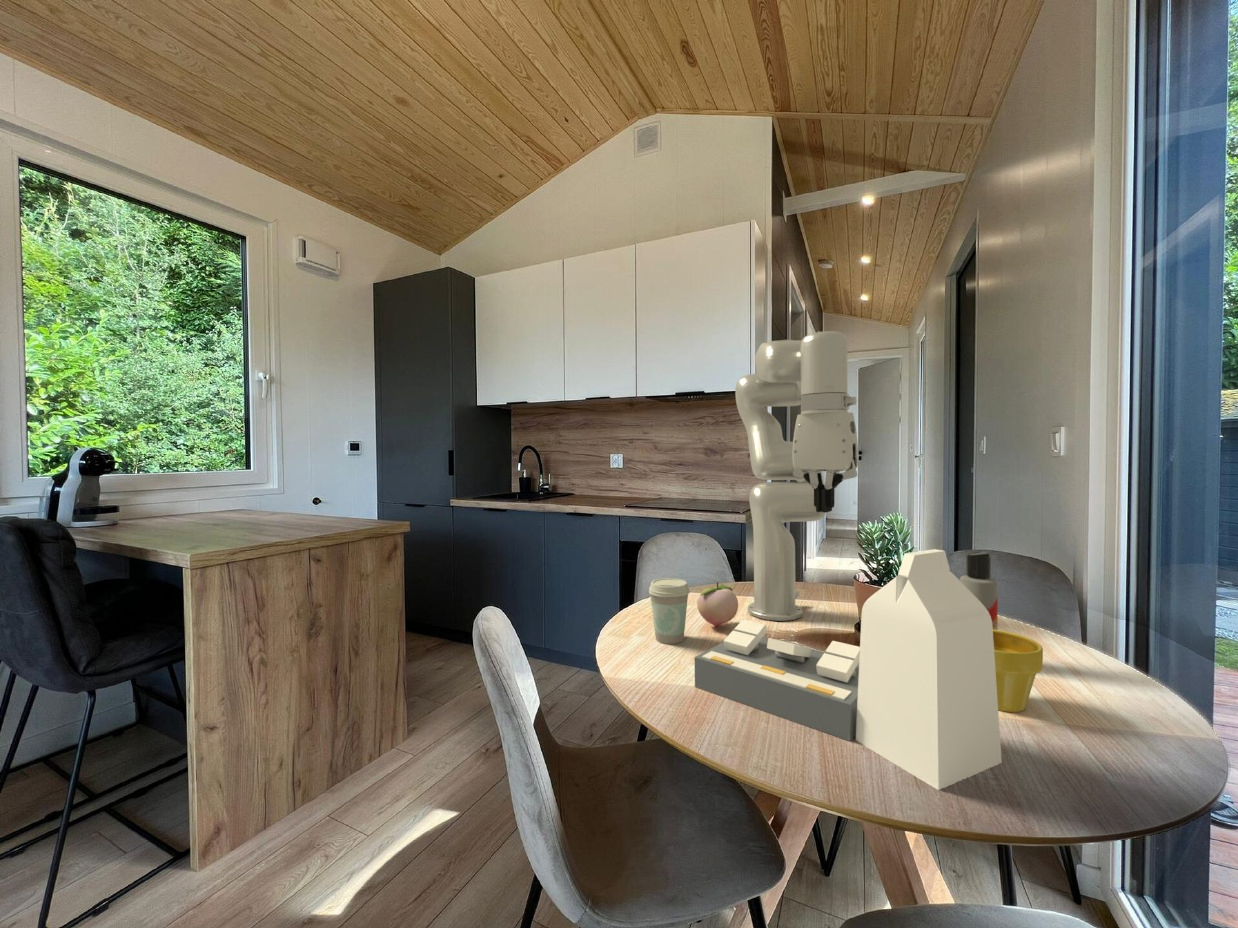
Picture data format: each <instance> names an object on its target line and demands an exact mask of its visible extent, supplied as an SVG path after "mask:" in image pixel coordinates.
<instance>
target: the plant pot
mask: <svg viewBox="0 0 1238 928" xmlns="http://www.w3.org/2000/svg"><path fill="white" fill-rule="evenodd" d="M993 641H994V656H995V671H996V685H997V700H998V712H999V711H1000V712H1006V713H1019V712H1020V713H1021V712H1023V711H1025V709H1026V708H1027V705H1028V703H1029V698H1030V694H1031V692H1032V688H1033V686H1034V680H1035V678H1036V675H1037V674H1038V673H1040V672H1042V670H1043V663H1044V662H1043V660H1044V659H1043V657H1044V649H1043V646H1042V645H1041V644H1040V643H1039V642H1037V641H1036V640H1034V639H1032V638H1030V637H1028V636H1024V635H1022V634H1017V633H1014V632H1010V631H1005V630H999V629H998V630H993Z"/></svg>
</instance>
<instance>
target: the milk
mask: <svg viewBox="0 0 1238 928" xmlns="http://www.w3.org/2000/svg"><path fill="white" fill-rule="evenodd" d="M950 570H951V569H950V566H949V562H948V558H947V554H946V551H945V550H941V549H938V548H937V549H936V548H934V549H926V550H920V551H913V552H912V551H911V552H906V553H904V555H903V558H902V562H901V564H900V567H899V571H898V574H897V576H894V578H893V579H891V580H890V581H889V582H887V583H886V584H885V585H884V586H882V587H881V588H880V589H879V590H877V591H876V592H875V593H873V594H871V596H869V598H867V600H865V602H864V603H863V605H862V608H861V616H860V617H861V618H860V621H861V622H860V640H859V641H860V643H859V647H860V658H859V680H858V702H857V723H856V735H855V741H856V742H857V743H859V744H861V745H863V746H864V747H866V748H867V749H870V750H872V752H874V753H876V754H878V755H880V756H881V757H882V758H884V759H886V760H888V761H890V762H891V763H893V764H895V765H896V766H898V767H899V768H901V769H903V770H904V771H906V772H908V773H909V774H911V775H913V776H914V777H916V778H917V779H919V780H921V781H923V782H924V783H926V784H928V786H930V787H933V788H934V789H935V790H937V791H940V790H942V788H943V789H945V788H947V787H949V785H950V786H952V785H954V784H956V782H957V783H959V782H961V781H963V780H962V779H964V780H965V779H968V778H970V777H972V776H973V777H974V775H977V774H980V773H982V772H984V771H987V770H989V769H991V768H993V766H994V767H996V766H998V765H1000V764H999V763H1001V764H1002V763H1003V762H1002V761H1003V760H1002V746H1001V745H1002V744H1001V732H1000V731H1001V730H1000V718H999V710H998V700H997V685H996V671H995V656H994V641H993V627H992V620H991V616H990V614H989V612H988V611H987V609H986V608H985V606H984V605H983V604H982V603H981V602H980V601H979V600H978V599H977V598H976V597H975V596H974V595H973V594H972V593H971V592H970V591H969V590H968V589H967V588H966V587H965V586H964V585H963V584H962V582H961V581H960V578H958V577H957V576H956V575H955V574H954V573H953V572H952V571H950ZM995 765H996V766H995ZM990 767H991V768H990ZM988 768H989V769H988ZM986 769H987V770H986ZM979 772H980V773H979ZM967 777H968V778H967ZM958 781H959V782H958Z"/></svg>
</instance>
